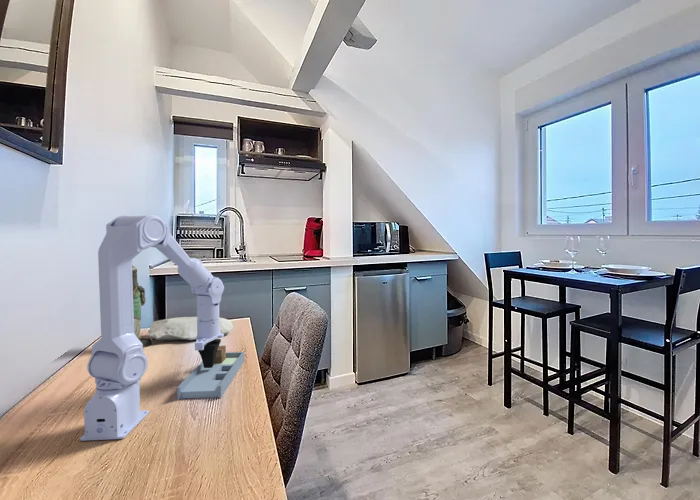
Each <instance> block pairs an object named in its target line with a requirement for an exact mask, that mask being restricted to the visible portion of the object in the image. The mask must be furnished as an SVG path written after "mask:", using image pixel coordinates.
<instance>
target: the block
mask: <svg viewBox="0 0 700 500" xmlns="http://www.w3.org/2000/svg"><path fill="white" fill-rule="evenodd" d="M226 352H227V350H226V345H219V347H218V349H217V352H216V357H215V362H214V364H219V363H222V362H223V361H224V360H225V359H226Z"/></svg>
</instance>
